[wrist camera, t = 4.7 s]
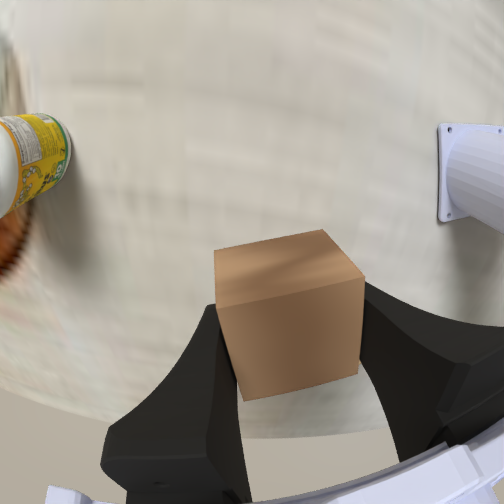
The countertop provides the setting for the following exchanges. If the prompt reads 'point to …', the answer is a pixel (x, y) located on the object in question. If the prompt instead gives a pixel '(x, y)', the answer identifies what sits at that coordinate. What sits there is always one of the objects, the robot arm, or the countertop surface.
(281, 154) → the countertop surface
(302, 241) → the block
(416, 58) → the countertop surface
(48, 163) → the supplement bottle
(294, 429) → the countertop surface
